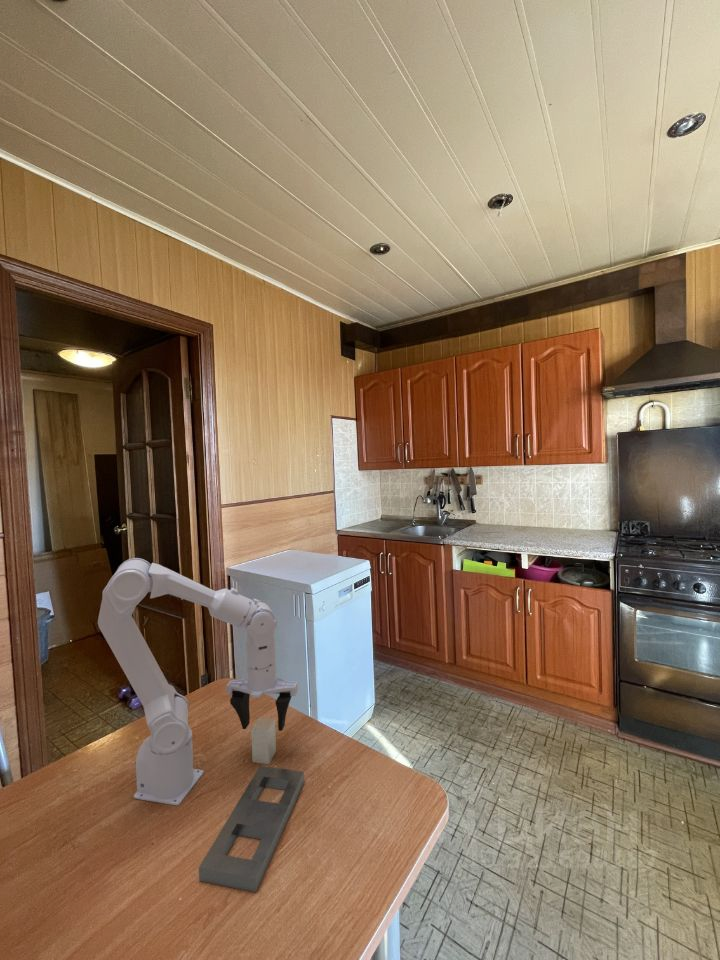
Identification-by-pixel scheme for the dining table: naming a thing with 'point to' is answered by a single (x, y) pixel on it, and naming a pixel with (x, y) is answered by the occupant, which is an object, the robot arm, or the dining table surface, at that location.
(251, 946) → the dining table surface
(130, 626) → the robot arm
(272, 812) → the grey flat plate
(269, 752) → the grey square peg
